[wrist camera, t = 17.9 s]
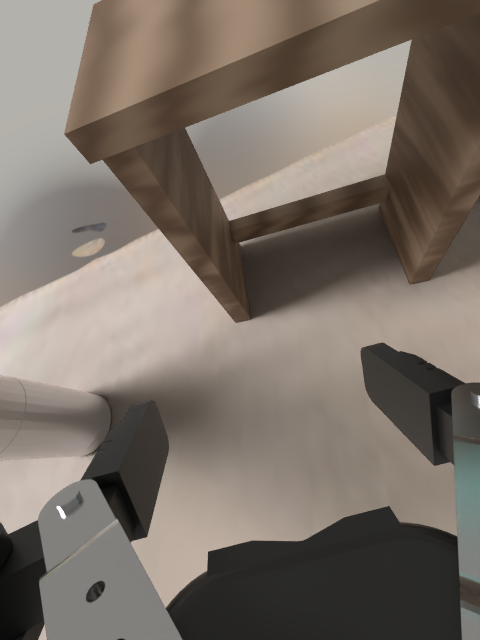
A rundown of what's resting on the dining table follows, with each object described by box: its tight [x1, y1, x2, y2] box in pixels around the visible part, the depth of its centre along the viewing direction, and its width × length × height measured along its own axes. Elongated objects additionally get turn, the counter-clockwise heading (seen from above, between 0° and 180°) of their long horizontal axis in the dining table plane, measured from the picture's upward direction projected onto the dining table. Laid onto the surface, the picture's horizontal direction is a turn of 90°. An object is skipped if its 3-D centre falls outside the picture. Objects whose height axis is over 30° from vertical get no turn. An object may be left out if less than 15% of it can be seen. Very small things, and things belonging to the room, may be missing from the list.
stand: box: [64, 0, 480, 322], centre depth 31 cm, size 28×16×32 cm, turn 96°
